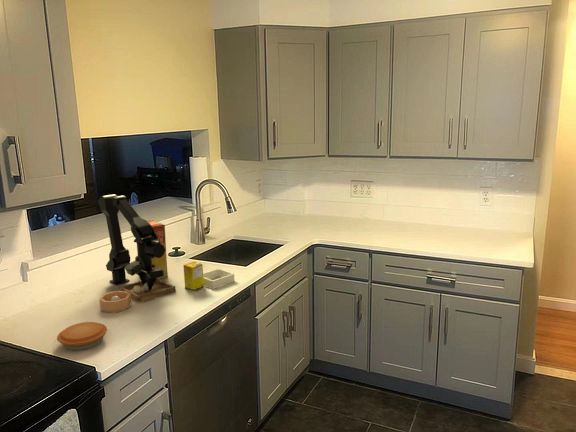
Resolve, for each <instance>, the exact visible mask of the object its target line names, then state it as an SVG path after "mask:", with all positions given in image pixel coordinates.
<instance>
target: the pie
mask: <svg viewBox="0 0 576 432" xmlns="http://www.w3.org/2000/svg"><path fill="white" fill-rule="evenodd" d="M107 332H108V328H107V326H106V324H104V323H100V322H96V321H95V322H94V321H84V322H78V323H75V324H72V325H69V326H67V327H66V328H65V329H63V330H61V331H60V332H59V333H58V335H57V336H56V340H57V342H58V343H60V344H61V345H63V346H64V347H65V349H67V350H70V351H84V350H87V349H92V348H94V347H96V346H98V345H99V344H100V343H101V342H102V340H103V339H104V336H105V335H106V334H107Z"/></svg>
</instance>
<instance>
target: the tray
mask: <svg viewBox="0 0 576 432" xmlns="http://www.w3.org/2000/svg"><path fill="white" fill-rule="evenodd" d="M135 286H140V287H141V289H142V291H141V293H140V294H135V293H133V287H135ZM119 291H126V292H128V293H130V294H131V300H134V301H135V302H138V303H140V304H142V303H146V302H149V301H152V300H155V299H157V298H161V297H164V296H167V295H171V294H173V293H176V286H175V285H173V284H170V283H168V282H166V281H163V280H161V279H157V278H156V280H155V282H154V284H153V287H152V289H151V290H150V291H145V290H144V289H143V284H142V282H141V280H140V281H135V282H133V283H129V284H126V285H123V286H120V287H119Z"/></svg>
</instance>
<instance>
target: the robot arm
mask: <svg viewBox="0 0 576 432" xmlns="http://www.w3.org/2000/svg"><path fill="white" fill-rule="evenodd" d="M97 203H98V206H99V210H100V211H101V213H102V214H103V215H104V216H105V219H106V224H107V231H108V235H109V241H110V246H111V249H110V251H109V254H108V255H109V256H108V258H109V260H108V261H107V263H106V264H105V268H106V271H109V272H111V280H109V282H110V283H111V284H114V285H115V286H117V285H120V284H124V283H128V282H130V279H128V278H127V276H126V274H127V275H130V276H135V275H136V276H138V277H139V279H140V281H141V282H142V284H143V285H144V284H145V283H147V285H148V289H149V290H151V289H152V287H153V284H154V282H155V280H156V278H158V277H161V276H164V271H163V270H162V269H159V268H154V269H152V268H153V267H155V265H154V264H153V262H152V258H154V257H156V258H161V257H162V256H163V255H164V253H165V248H164V246H163V245H162V244H160V241H156V240H158V238H157V234H156V233H155V231H154V229H153V227H152V226H151V225H150V224H149V223H148V222H147V221H148V220H146V219H144V218H141V216H140V215H139V214H138V213H137V211H136V210H135V209H134V207H133V206H132V204H131V203H130V202H129V201H128V198H127V196H125V195H117V194H114V193H113V194H107V195H101V196H100V197H99V199H98V201H97ZM119 212H120V213H121V215H122V216H123V217H124V218H125V220H126V221H127V223H128V224H129V225H130V232H131V233H132V235H133V237H134V238H135V239H133V242H134V243H136V250H137V255H135V257H134V258H135V259H134V261H131V256H130V250H129V249H127V248H126V247H125V246H124V243H123V242H124V241H123V237H122V231H121V226H120V221H119V215H118V214H119ZM150 236H152V237H150ZM146 237H148V238H146Z"/></svg>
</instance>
